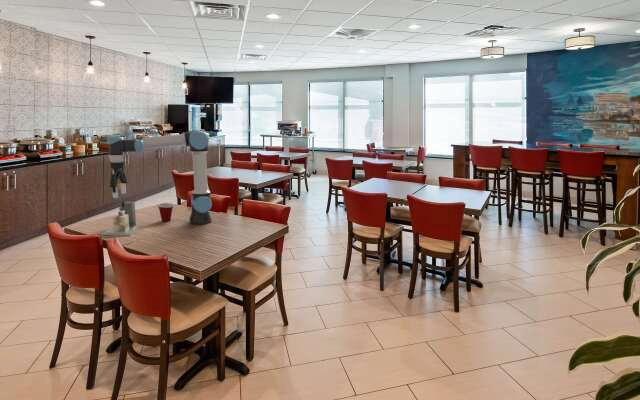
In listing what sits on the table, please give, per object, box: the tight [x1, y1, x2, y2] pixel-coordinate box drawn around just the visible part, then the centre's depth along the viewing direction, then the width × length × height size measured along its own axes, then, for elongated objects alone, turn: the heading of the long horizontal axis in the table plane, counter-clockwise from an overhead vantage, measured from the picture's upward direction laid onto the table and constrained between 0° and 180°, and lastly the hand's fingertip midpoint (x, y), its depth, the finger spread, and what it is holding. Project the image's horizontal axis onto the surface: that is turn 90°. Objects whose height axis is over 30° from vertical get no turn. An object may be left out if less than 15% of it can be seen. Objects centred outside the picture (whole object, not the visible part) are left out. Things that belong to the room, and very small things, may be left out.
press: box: [102, 201, 140, 237], centre depth 263 cm, size 16×26×16 cm, turn 5°
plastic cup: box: [157, 202, 175, 223], centre depth 288 cm, size 11×11×12 cm
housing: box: [112, 210, 129, 231], centre depth 258 cm, size 7×7×12 cm
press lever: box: [117, 182, 125, 212], centre depth 270 cm, size 4×4×18 cm
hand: (119, 195), depth 255 cm, fingers open, 13 cm apart
